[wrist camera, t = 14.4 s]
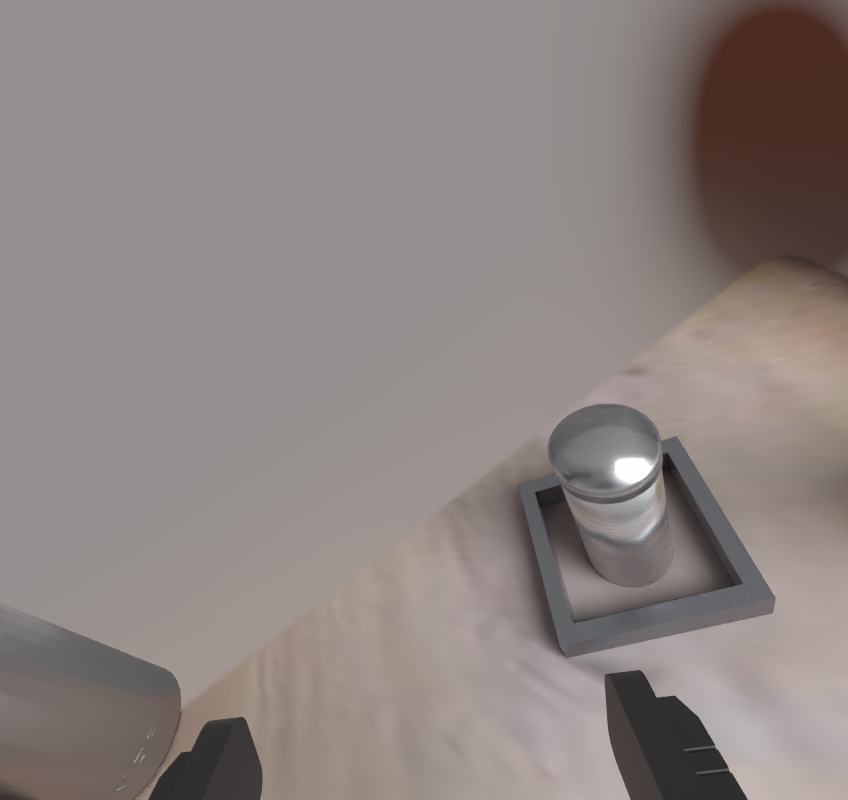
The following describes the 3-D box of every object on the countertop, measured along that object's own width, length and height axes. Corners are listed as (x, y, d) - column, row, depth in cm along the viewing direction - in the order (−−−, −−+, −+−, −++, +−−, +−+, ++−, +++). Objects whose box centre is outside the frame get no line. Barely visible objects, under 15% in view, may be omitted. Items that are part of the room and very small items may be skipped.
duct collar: (567, 657, 28) (559, 646, 27) (525, 499, 36) (517, 484, 35) (772, 612, 26) (775, 598, 24) (678, 453, 34) (676, 436, 32)
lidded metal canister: (577, 576, 31) (535, 481, 24) (595, 505, 33) (561, 401, 26) (668, 599, 28) (651, 499, 21) (679, 519, 31) (668, 406, 24)
